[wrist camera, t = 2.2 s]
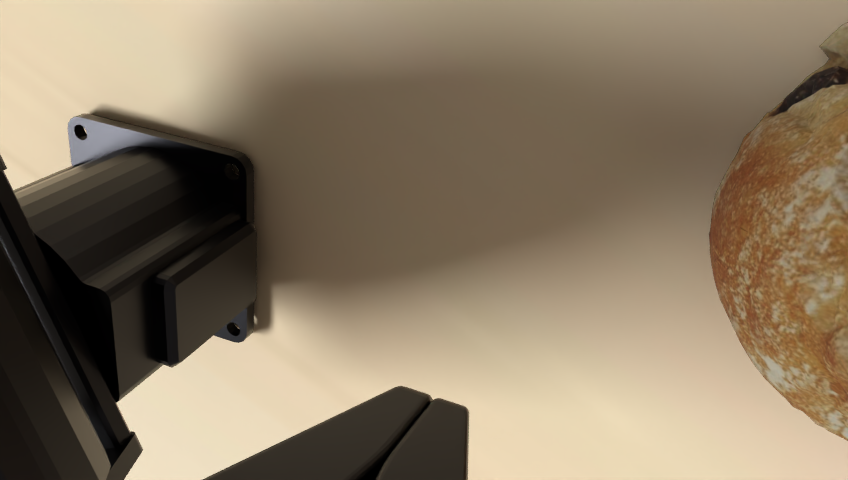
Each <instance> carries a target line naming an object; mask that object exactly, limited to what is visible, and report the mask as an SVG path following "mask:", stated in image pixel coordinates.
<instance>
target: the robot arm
mask: <svg viewBox="0 0 848 480" xmlns="http://www.w3.org/2000/svg"><path fill="white" fill-rule="evenodd" d="M83 127H84V128H85V129H86V131H87V134H86V133H85V131H84V128H83ZM68 135H69V144H70V153H71V162H72V166H71V167H68V168H66V169H64V170H61V171H59V172H56V173H54V174H52V175H49V176H47V177H45V178H42V179H40V180H37V181H35V182H33V183H30V184H28V185H25V186H23V187H21V188H18V189H16V190H13V189H12V187H11V185H10V183H9V181H8V179H7V177H6V175H5V173H4V171H3V170H5V169H7V168H6V165H5V163H4V161H3V159H2V157H1V155H0V480H124V478H125V477H126V475H127V474H128V472H129V471H130V469H131V468H132V466H133V465H134V463H135V462H136V460H137V459H138V457H139V456H140V454H141V453H142V451H143V449H142V447H141V445H140V442H139V440H138V438H137V436H136V434H135V432H130V430H129V428H128V426H127V424H126V422H125V420H124V418H123V416H122V414H121V412H120V410H119V408H118V406H117V404H116V402H118V401H119V400H121V399H122V398H123V397H124V396H125V395H127V394H128V393H129V392H130V391H132V390H133V389H134V388H135V387H136V386H138V385H139V384H140V383H141V382H143V381H144V380H145V379H146V378H148V377H149V376H150V375H151V374H152V373H154V372H155V371H156V370H157V369H159V368H160V367H161V366H162V365H166V366H169V367H174V366H176V365H177V364H179V363H181V362H182V361H183V360H184V359H185V358H187V357H188V356H189V355H190V354H191V353H193V352H194V351H195V350H196V349H197V348H199V347H200V346H201V345H202V344H203V343H205V342H206V341H207V340H208V339H209V338H211V337H212V336H213V335H214V336H217V337H220V338H223V339H226V340H229V341H232V342H238V343H239V342H242V341H244V340H245V339H246V338H247V337H248V336H249V335H250V334H251V333H252V332H253V328H254V301H255V300H256V270H257V232H256V229H255V227H254V168H253V164H252V162H251V160H250V159H249V158H248V157H247V156H246V155H245V154H243V153H241V152H238V151H234V150H230V149H226V148H222V147H218V146H214V145H210V144H206V143H202V142H198V141H194V140H190V139H186V138H182V137H179V136H175V135H171V134H167V133H163V132H159V131H155V130H151V129H147V128H143V127H139V126H135V125H131V124H127V123H123V122H119V121H115V120H111V119H107V118H103V117H99V116H95V115H91V114H81V115H78V116H76V117H73V118H72V119H70V121H69V123H68ZM232 164H233V165H235V166H236V167H237V168H238V170H239V175H237V174H236V173H235V172H234V171H233V168H232ZM234 323H235V324H237V325H238V326H239V328H240V329H238V328H237V327H236V326H235V324H234ZM468 441H469V411H468V409H467V408H466V407H465V406H462V405H459V404H456V403H453V402H450V401H447V400H444V399H441V398H437V399H434V400H433V399H432V398H431V396H430V395H428V394H426V393H423V392H420V391H417V390H413V389H410V388H407V387H403V386H398V387H395V388H393V389H391V390H388V391H386V392H384V393H382V394H380V395H378V396H376V397H374V398H372V399H370V400H368V401H366V402H363V403H361V404H359V405H357V406H355V407H353V408H351V409H349V410H347V411H345V412H343V413H341V414H338V415H336V416H334V417H332V418H330V419H328V420H326V421H324V422H322V423H320V424H318V425H316V426H313V427H311V428H309V429H307V430H305V431H303V432H301V433H299V434H297V435H295V436H293V437H290V438H288V439H286V440H284V441H282V442H280V443H278V444H276V445H274V446H272V447H270V448H268V449H265V450H263V451H261V452H259V453H257V454H255V455H253V456H251V457H249V458H247V459H245V460H243V461H240V462H238V463H236V464H234V465H232V466H230V467H228V468H226V469H224V470H222V471H220V472H217V473H215V474H213V475H211V476H209V477H207V478H205V479H203V480H468Z"/></svg>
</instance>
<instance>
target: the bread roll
mask: <svg viewBox="0 0 848 480" xmlns="http://www.w3.org/2000/svg"><path fill="white" fill-rule="evenodd" d="M819 47H820V48H821V49H822V50H823V51H824V53H825V54H826V55H827V56H828V57H829V58H830V59H829V60H828V61H827V63H826V64H825V65H824V66H822V67H821V68H820V69H818V70H817V71H815V72H814V73H812V74H811V75H809V76H808V77H807V78H806V79H805V80H804V81H803V82H802V83H801V84H800V85H799V86H798V87H797V88H796V89H795V90H794V91H793V92H792V93H790V94H789V95H788V96H787V97H786V98H785V99H784V100H783V101H782V102H781V103H780V104H779V105H778V106H777V107H776V108H774V109H773V110H772V111H771V112H768V113H767V114H766V115H765V116H764V117H763V119H762V120H761V121H760V123H759V124H758V125H757V126H756V127H755V129H754V130H753V131H751V132H750V133H748V134H747V135H746V136H745V137H744V139H743V141H742V144H741V146H740V148H739V151H738V153H737V155H736V156H735V158H734V160H733V161H732V163H731V165H730V167H729V168H728V170H727V172H726V174H725V176H724V178H723V180H722V182H721V184H720V186H719V188H718V190H717V192H716V195H715V199H714V204H713V209H712V219H711V228H710V233H709V238H710V255H711V263H712V269H713V274H714V279H715V283H716V287H717V290H718V294H719V297H720V300H721V302H722V304H723V306H724V308H725V311H726V313H727V315H728V317H729V319H730V321H731V323H732V326H733V328H734V330H735V332H736V334H737V336H738V338H739V340H740V342H741V344H742V346H743V347H744V349H745V351H746V353H747V354H748V356H749V358H750V359H751V361H752V363H753V364H754V365H755V366H756V368H757V369H758V370H759V372H760V373H761V374H762V375H763V377H764V378H765V379H766V380H767V381H768V382H769V383H770V384H771V385H772V386H773V387H774V388H775V389H776V390H777V391H778V392H779V393H780V394H781V395H782V396H784V397H785V398H786V399H787V401H788V402H789V403H790V404H791V405H792V406H793V407H795V408H797V409H799V410H801V411H803V412H804V413H805V414H806V415H808V416H809V417H810V418H811V419H812V420H813V421H814V422H815V423H816V424H817V425H819V426H822V427H824V428H826V429H827V430H828V431H830V432H832V433H834V434H836V435H838V436H840V437H842V438H844V439H846V440H847V441H848V22H847V23H845V24H843V25H842V26H840V27H839V28H838V29H837V30H836V31H835V32H834V33H833V34H832V35H831V36H830V37H829V38H828V39H827V40H826V41H825V42H824V43H823V44H821V45H820V46H819Z"/></svg>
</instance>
